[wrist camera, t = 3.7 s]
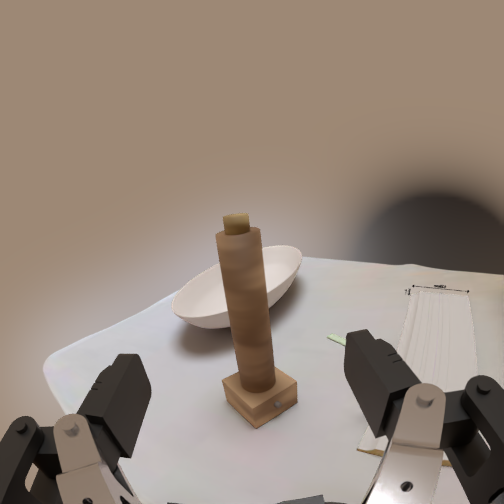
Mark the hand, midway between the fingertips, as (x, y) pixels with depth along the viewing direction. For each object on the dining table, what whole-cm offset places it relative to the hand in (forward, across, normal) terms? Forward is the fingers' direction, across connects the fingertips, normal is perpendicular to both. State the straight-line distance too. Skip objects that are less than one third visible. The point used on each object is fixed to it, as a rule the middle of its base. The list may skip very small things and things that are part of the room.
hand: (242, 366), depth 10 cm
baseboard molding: (+13, -21, +15) cm, 29 cm away
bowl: (+34, 0, +14) cm, 36 cm away
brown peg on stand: (+12, 0, +14) cm, 18 cm away
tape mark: (+19, -12, +14) cm, 26 cm away
